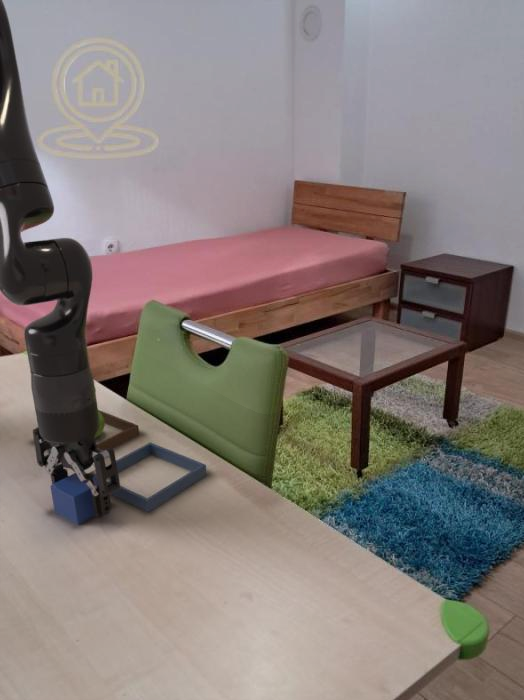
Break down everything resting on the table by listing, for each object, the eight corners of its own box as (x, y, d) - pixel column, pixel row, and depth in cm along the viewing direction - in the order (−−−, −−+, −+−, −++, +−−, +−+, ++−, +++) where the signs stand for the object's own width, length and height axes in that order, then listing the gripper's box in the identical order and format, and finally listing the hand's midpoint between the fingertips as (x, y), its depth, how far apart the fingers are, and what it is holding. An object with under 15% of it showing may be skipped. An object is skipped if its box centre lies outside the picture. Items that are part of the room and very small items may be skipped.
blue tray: (92, 488, 94) (89, 474, 93) (151, 455, 103) (150, 442, 102) (148, 516, 88) (147, 501, 87) (206, 478, 97) (206, 464, 96)
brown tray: (35, 445, 106) (32, 432, 104) (93, 419, 115) (91, 407, 113) (82, 467, 99) (80, 453, 98) (139, 438, 108) (138, 425, 107)
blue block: (55, 515, 88) (49, 485, 86) (84, 499, 92) (80, 469, 89) (78, 528, 85) (73, 497, 83) (108, 511, 89) (104, 480, 87)
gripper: (126, 402, 80) (138, 508, 87) (55, 376, 87) (71, 477, 94) (77, 424, 75) (94, 536, 81) (5, 395, 82) (27, 500, 89)
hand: (82, 504), depth 88 cm, fingers open, 8 cm apart
